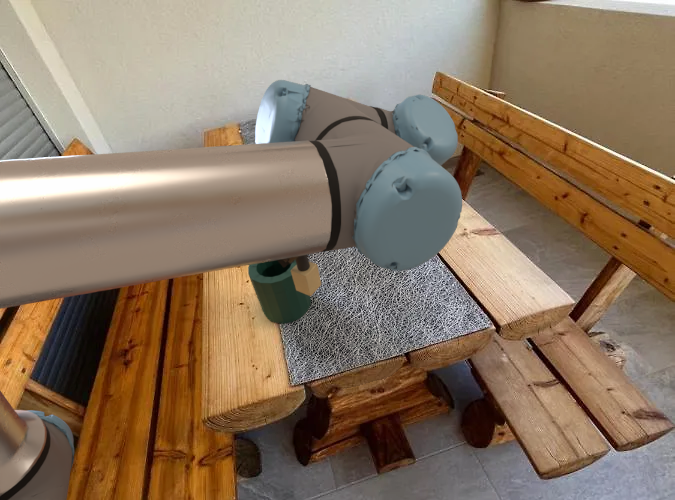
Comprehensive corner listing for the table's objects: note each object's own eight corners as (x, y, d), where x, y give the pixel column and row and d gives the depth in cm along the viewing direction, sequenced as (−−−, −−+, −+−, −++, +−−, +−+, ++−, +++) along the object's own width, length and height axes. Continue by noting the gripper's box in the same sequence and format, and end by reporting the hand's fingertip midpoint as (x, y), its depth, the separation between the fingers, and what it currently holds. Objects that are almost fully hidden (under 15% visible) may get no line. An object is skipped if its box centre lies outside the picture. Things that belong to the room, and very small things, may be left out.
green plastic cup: (276, 331, 80) (261, 291, 72) (255, 303, 87) (240, 263, 80) (319, 306, 84) (309, 265, 76) (296, 280, 91) (284, 240, 83)
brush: (310, 296, 69) (292, 223, 59) (296, 290, 71) (275, 218, 61) (321, 284, 71) (305, 212, 61) (307, 278, 73) (289, 207, 63)
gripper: (341, 250, 46) (272, 299, 65) (400, 187, 55) (324, 247, 74) (298, 203, 45) (240, 266, 64) (365, 147, 54) (297, 217, 73)
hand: (285, 256), depth 69 cm, fingers closed on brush, 2 cm apart
